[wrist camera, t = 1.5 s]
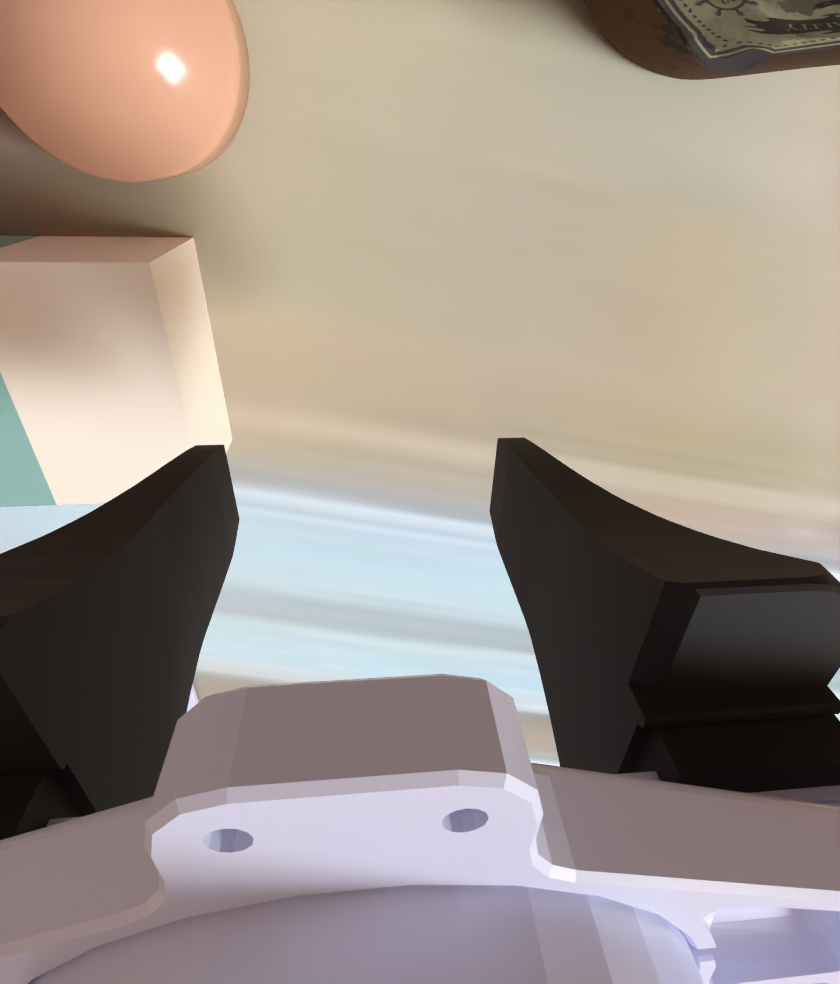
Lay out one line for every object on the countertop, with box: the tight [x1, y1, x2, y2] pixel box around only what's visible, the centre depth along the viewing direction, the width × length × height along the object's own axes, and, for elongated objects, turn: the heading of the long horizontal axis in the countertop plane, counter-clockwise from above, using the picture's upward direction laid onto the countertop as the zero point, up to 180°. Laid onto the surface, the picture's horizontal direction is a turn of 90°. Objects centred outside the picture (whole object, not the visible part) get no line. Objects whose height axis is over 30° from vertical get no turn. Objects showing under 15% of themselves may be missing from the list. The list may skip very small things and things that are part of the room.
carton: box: [0, 235, 232, 507], centre depth 18 cm, size 8×9×4 cm
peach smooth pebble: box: [0, 0, 250, 182], centre depth 14 cm, size 6×6×3 cm
